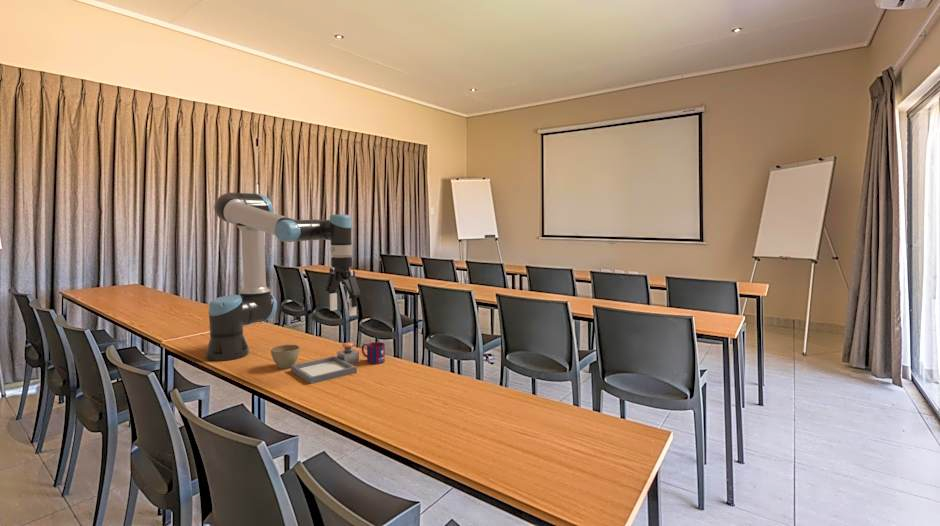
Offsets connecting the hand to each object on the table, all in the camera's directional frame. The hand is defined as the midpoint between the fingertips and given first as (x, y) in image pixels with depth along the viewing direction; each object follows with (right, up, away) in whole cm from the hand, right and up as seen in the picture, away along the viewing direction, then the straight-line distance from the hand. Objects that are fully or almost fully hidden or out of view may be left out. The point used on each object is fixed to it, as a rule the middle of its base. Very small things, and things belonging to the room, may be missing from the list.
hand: (343, 312), depth 173 cm
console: (+1, -19, +5) cm, 20 cm away
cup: (+10, -20, +7) cm, 23 cm away
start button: (+1, -16, +5) cm, 16 cm away
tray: (-5, -21, -6) cm, 22 cm away
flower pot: (-21, -20, -1) cm, 29 cm away
